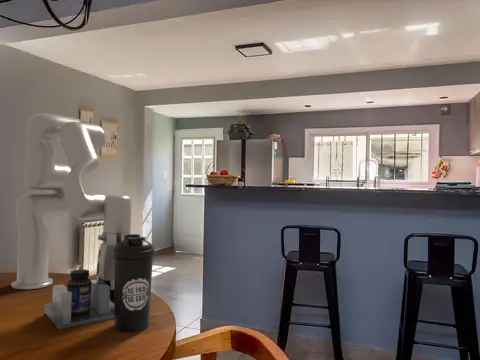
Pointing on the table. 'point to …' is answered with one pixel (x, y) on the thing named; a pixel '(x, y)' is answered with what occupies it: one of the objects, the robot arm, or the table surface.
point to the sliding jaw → (100, 297)
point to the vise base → (77, 318)
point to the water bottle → (132, 283)
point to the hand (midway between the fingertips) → (115, 301)
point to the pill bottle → (80, 291)
